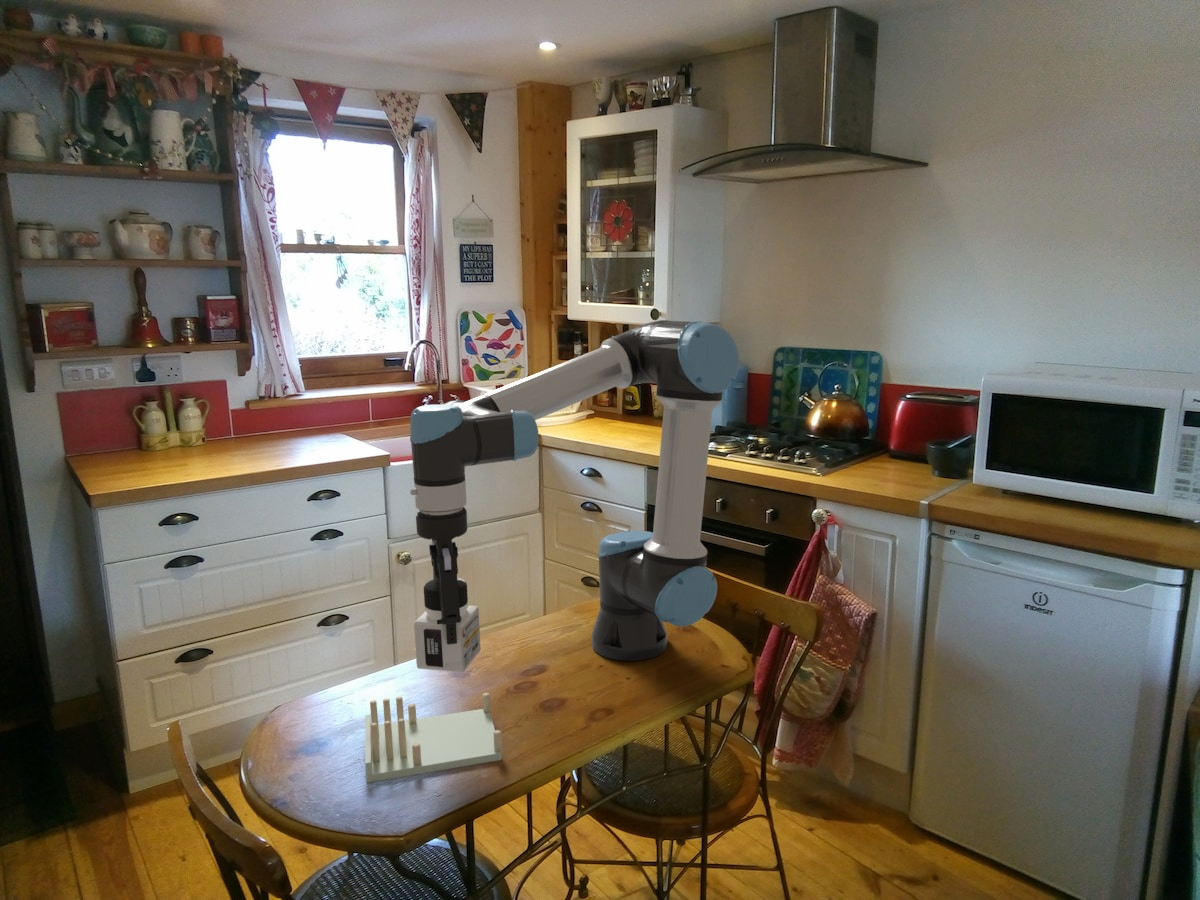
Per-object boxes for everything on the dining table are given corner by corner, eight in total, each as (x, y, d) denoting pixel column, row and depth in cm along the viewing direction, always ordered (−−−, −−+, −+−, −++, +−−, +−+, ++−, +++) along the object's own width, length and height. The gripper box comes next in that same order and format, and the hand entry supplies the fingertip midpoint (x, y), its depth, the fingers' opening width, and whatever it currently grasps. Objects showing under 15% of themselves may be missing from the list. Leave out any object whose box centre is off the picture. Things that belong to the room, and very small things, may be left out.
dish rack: (490, 714, 139) (488, 675, 137) (503, 759, 126) (501, 716, 124) (366, 733, 134) (363, 692, 132) (366, 782, 120) (363, 738, 119)
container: (464, 673, 123) (459, 591, 120) (416, 669, 125) (410, 588, 122) (481, 650, 130) (477, 573, 128) (435, 647, 132) (431, 570, 129)
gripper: (411, 492, 132) (419, 620, 137) (420, 532, 111) (429, 683, 115) (458, 488, 134) (464, 615, 139) (475, 527, 113) (482, 675, 117)
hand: (448, 646), depth 127 cm, fingers closed on container, 10 cm apart
